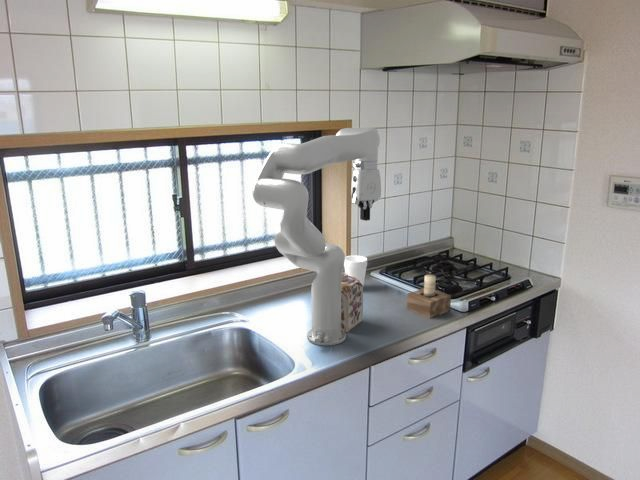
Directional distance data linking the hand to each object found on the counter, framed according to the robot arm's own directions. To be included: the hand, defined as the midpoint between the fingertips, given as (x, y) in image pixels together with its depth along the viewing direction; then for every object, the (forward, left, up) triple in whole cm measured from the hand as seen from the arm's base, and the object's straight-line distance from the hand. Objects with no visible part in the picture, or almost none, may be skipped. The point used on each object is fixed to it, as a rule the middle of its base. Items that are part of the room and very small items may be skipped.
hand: (365, 219), depth 177 cm
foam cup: (+26, +6, -35) cm, 44 cm away
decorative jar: (-8, +7, -35) cm, 37 cm away
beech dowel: (+9, -23, -34) cm, 42 cm away
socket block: (+9, -23, -35) cm, 43 cm away
